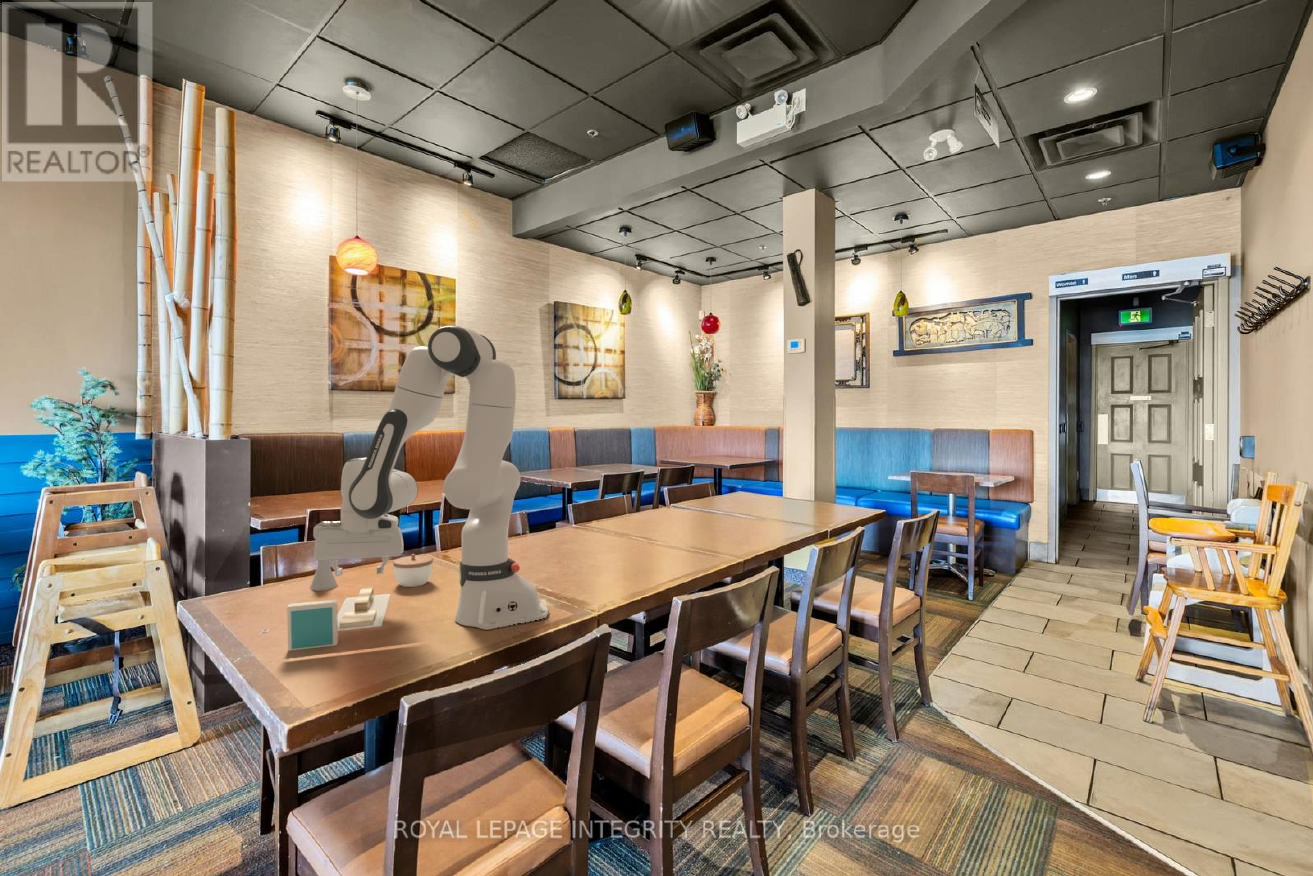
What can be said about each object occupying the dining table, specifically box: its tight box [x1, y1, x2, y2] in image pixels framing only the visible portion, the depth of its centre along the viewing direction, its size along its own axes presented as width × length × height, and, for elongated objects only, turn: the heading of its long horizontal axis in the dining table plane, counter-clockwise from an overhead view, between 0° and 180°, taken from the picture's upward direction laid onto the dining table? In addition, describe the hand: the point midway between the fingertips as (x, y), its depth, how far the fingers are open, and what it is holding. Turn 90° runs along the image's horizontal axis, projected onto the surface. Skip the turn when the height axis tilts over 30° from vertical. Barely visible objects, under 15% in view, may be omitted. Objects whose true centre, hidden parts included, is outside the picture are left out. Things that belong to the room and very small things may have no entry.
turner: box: [340, 585, 377, 628], centre depth 146 cm, size 22×7×3 cm, turn 20°
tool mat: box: [338, 593, 391, 632], centre depth 146 cm, size 11×26×1 cm, turn 20°
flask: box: [309, 559, 339, 592], centre depth 166 cm, size 7×7×10 cm
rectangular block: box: [286, 599, 339, 652], centre depth 124 cm, size 9×2×10 cm, turn 110°
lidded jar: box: [392, 553, 434, 588], centre depth 169 cm, size 11×11×9 cm
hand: (359, 574), depth 147 cm, fingers open, 8 cm apart
